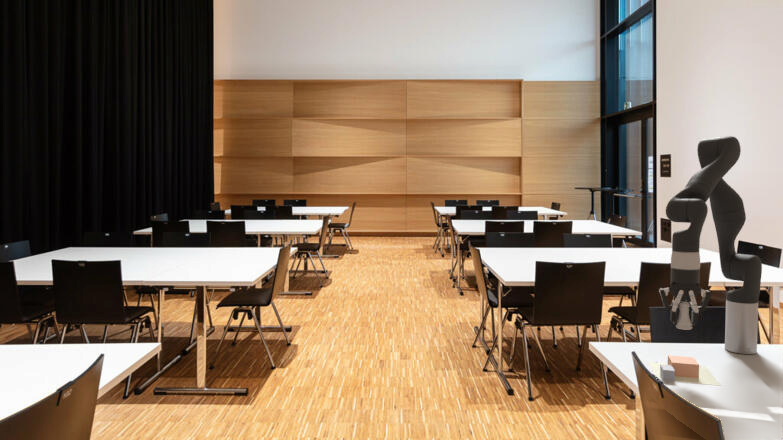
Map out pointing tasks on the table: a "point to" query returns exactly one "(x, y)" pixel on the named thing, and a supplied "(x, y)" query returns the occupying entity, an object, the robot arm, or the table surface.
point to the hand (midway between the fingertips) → (683, 323)
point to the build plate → (704, 377)
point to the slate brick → (667, 372)
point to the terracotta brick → (684, 366)
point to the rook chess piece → (684, 316)
